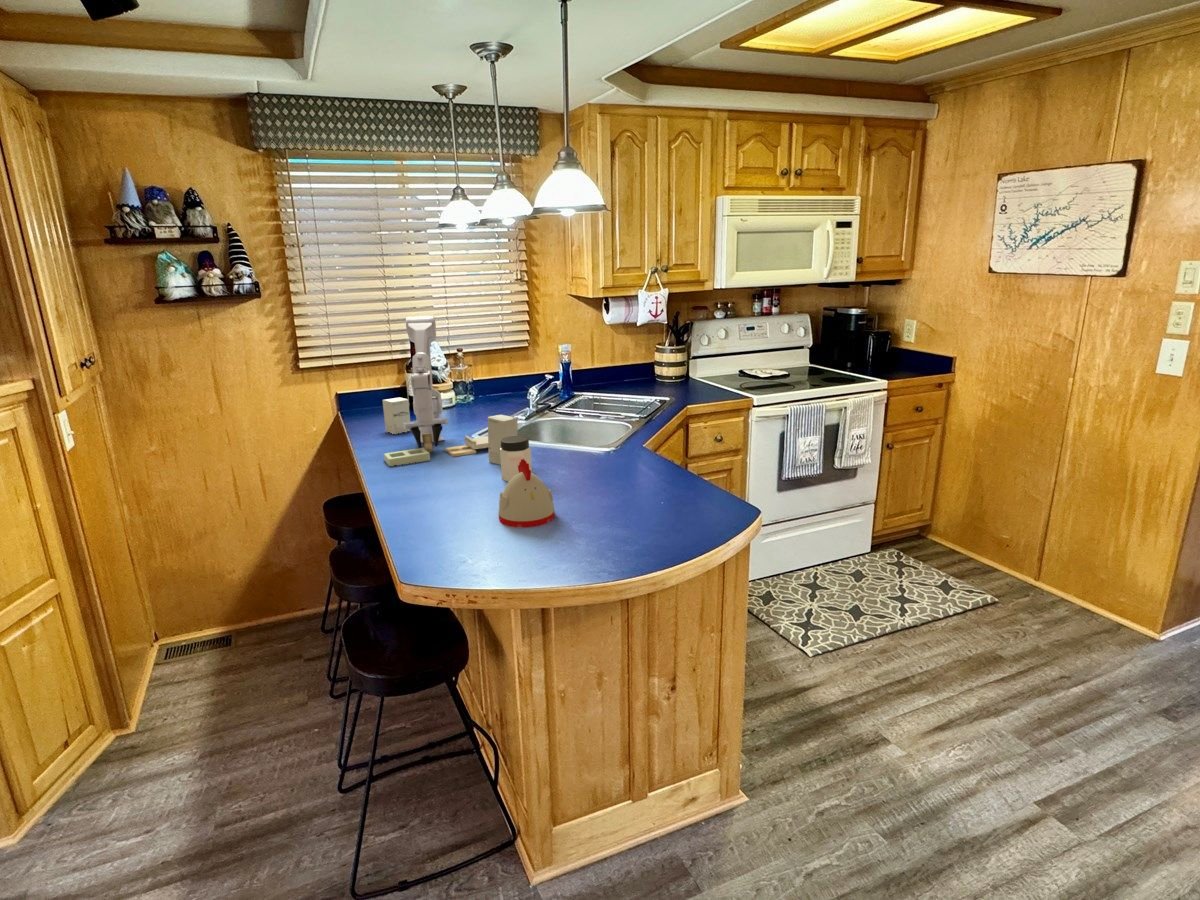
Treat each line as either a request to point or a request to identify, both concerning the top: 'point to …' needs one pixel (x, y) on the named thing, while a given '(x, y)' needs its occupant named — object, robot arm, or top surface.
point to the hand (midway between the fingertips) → (427, 447)
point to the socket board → (406, 456)
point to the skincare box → (499, 434)
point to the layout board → (460, 450)
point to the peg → (427, 442)
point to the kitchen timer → (525, 500)
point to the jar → (514, 455)
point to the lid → (476, 442)
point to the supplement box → (396, 414)
